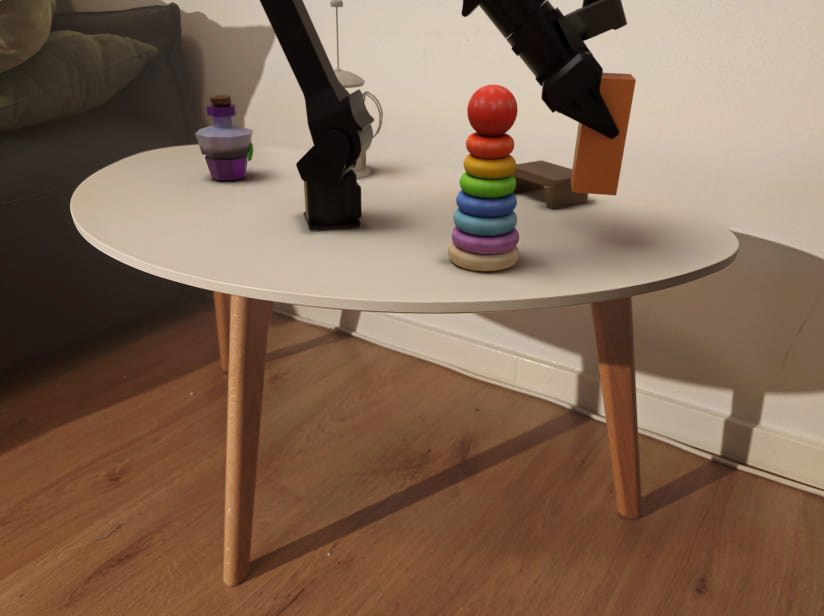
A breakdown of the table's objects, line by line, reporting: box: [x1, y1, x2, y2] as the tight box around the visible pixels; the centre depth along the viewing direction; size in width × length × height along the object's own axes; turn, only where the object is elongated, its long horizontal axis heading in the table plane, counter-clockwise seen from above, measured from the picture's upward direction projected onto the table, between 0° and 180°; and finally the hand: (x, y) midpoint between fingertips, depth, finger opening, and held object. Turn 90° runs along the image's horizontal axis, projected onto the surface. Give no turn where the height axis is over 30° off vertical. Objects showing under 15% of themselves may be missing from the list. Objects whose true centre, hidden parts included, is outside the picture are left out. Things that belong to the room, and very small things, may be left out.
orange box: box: [571, 72, 637, 196], centre depth 80 cm, size 5×5×12 cm
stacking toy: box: [447, 84, 520, 272], centre depth 74 cm, size 8×8×19 cm
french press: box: [329, 0, 384, 179], centre depth 107 cm, size 10×12×25 cm
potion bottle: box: [194, 94, 254, 183], centre depth 105 cm, size 9×9×12 cm
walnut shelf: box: [512, 160, 589, 210], centre depth 102 cm, size 7×10×4 cm
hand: (613, 131), depth 79 cm, fingers closed on orange box, 5 cm apart
